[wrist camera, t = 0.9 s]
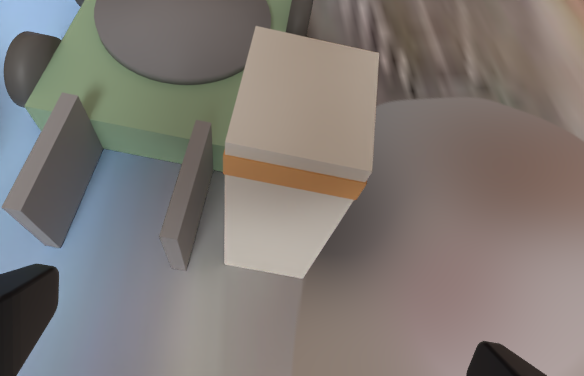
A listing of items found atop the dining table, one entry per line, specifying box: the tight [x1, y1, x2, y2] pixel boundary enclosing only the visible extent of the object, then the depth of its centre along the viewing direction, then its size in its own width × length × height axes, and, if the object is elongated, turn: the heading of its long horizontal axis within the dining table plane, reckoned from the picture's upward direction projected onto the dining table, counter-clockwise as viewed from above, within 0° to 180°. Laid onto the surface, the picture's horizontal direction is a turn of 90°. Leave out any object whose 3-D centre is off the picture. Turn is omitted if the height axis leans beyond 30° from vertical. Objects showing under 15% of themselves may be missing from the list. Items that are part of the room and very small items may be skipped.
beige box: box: [223, 26, 379, 279], centre depth 19 cm, size 5×5×12 cm
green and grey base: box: [2, 0, 313, 271], centre depth 25 cm, size 22×16×5 cm
